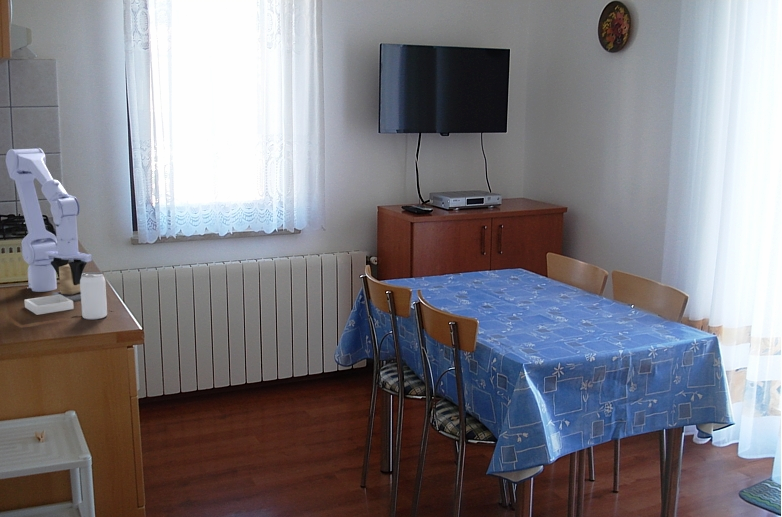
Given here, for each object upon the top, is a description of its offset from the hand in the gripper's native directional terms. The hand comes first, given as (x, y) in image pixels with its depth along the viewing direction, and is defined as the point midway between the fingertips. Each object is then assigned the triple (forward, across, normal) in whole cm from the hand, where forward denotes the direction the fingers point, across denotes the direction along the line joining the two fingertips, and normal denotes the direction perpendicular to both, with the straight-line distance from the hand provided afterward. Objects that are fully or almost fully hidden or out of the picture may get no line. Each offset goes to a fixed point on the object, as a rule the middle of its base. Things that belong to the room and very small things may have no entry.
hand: (70, 283), depth 236 cm
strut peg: (+3, 0, 0) cm, 3 cm away
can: (+5, +18, -13) cm, 23 cm away
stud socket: (+5, 0, 0) cm, 5 cm away
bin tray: (+5, +2, -12) cm, 13 cm away
